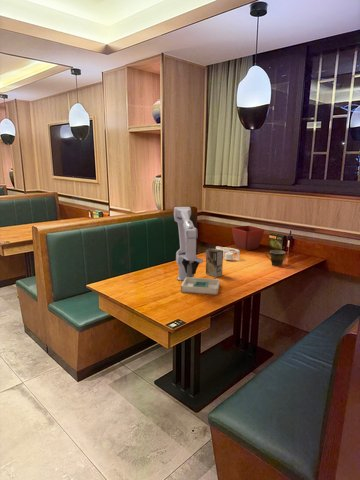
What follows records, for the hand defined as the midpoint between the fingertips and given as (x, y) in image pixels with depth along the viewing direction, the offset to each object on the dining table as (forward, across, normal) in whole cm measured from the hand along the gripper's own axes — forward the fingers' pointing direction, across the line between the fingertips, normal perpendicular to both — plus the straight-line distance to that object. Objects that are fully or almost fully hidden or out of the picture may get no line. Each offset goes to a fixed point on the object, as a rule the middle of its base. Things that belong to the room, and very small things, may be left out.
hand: (190, 273), depth 191 cm
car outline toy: (+9, -9, +65) cm, 66 cm away
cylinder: (+2, 0, 0) cm, 2 cm away
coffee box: (+9, 0, +28) cm, 29 cm away
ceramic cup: (+9, +26, +68) cm, 73 cm away
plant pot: (+9, -8, +101) cm, 102 cm away
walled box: (+9, +5, +2) cm, 10 cm away
